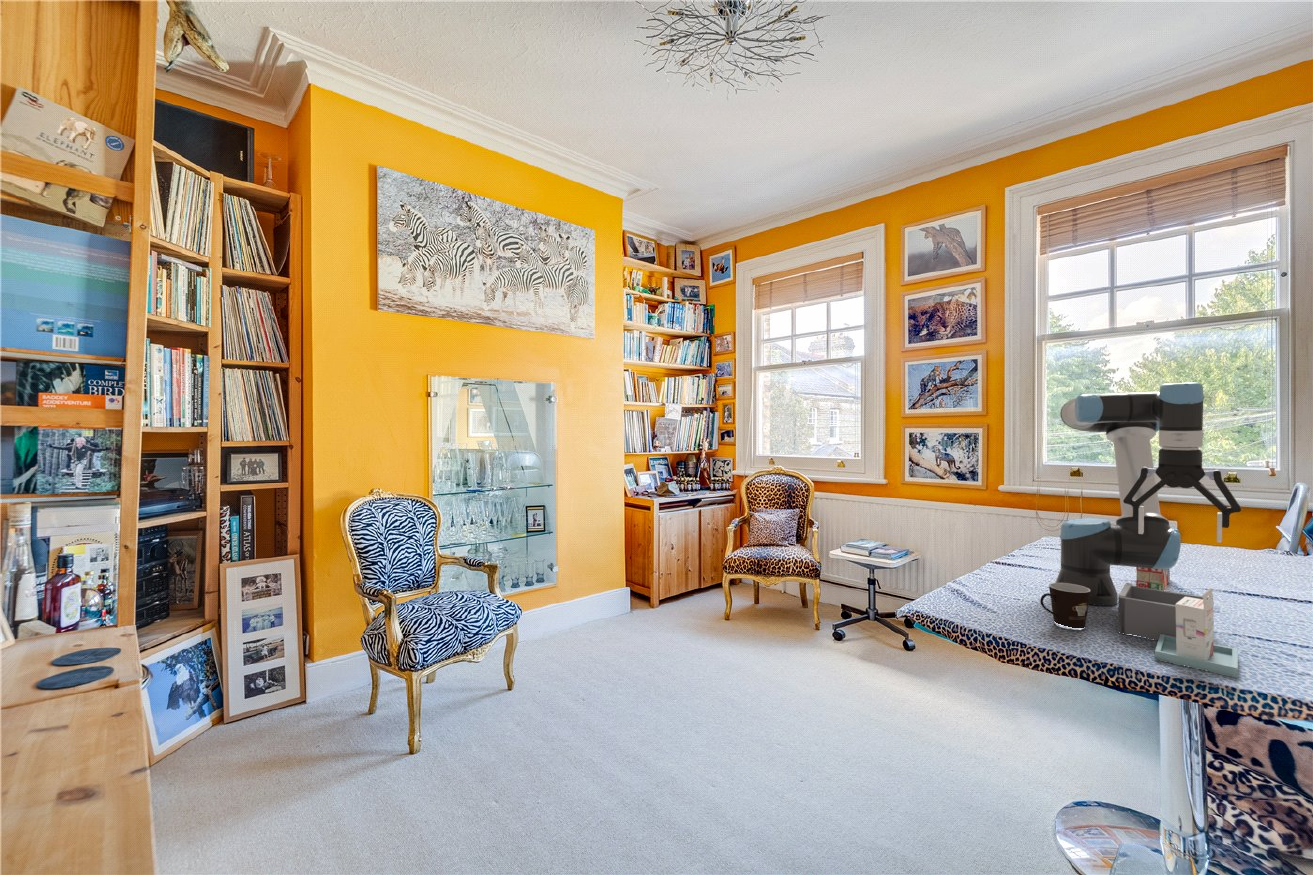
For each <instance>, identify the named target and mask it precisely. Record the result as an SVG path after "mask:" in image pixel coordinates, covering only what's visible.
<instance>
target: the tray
mask: <svg viewBox="0 0 1313 875" xmlns="http://www.w3.org/2000/svg"><path fill="white" fill-rule="evenodd" d="M1238 652H1239V650H1238V648H1235V647H1230V646H1225V645H1220V644H1215V643H1214V645H1213V654H1212V655H1211V656H1210V658H1209V659H1208V660H1207V661H1206V660H1201V659H1197V658H1192V657H1187V656H1182V655H1177V654H1176V637H1174V636H1168V635H1163V634H1161V635H1160V638H1159V640H1158V641H1157V644H1156V647H1155V650H1154V660H1155V659H1156V660H1155V661H1157V660H1160V661H1159V662H1162V661H1164V663H1166V662H1169V663H1168V664H1171V663H1173V664H1172V665H1176V664H1178V665H1177V666H1180V665H1185V666H1189V667H1193V668H1192V669H1194V668H1198V669H1197V670H1199V669H1203V670H1207V671H1206V672H1208V671H1211V672H1210V673H1212V672H1215V673H1214V674H1217V673H1218V675H1222V676H1228V677H1230V678H1231V677H1232V678H1235V679H1237V678H1239V675H1238V673H1239V671H1238V670H1239V661H1238V659H1239V658H1238V656H1239V655H1238V654H1239V653H1238ZM1185 666H1184V667H1185ZM1189 667H1188V668H1189ZM1203 670H1202V671H1203Z"/></svg>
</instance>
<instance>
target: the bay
mask: <svg viewBox="0 0 1313 875" xmlns="http://www.w3.org/2000/svg"><path fill="white" fill-rule="evenodd" d="M1184 597H1191V598H1197V599H1203V597H1202V595H1196V594H1190V593H1183V592H1182V593H1181V592H1176V591H1169V590H1165V591H1164V590H1157V589H1150V588H1144V587H1137V586H1136V585H1133V583H1131V582H1126V583H1125V584H1124V586H1123V587H1122V588H1121V590H1120V592H1119V593H1118V603H1117V604H1118V622H1117V623H1118V626H1117V628H1118V632H1120V633H1124V634H1132V635H1137V636H1141V637H1146V638H1149V639H1154V640H1159V638H1160V635H1161V634H1163V635H1168V636H1174V637H1176V607H1175V604H1176V603H1177V602H1179V601H1180V600H1181V599H1183V598H1184ZM1208 599H1209V596H1208V597H1207V600H1208ZM1124 634H1123V635H1124ZM1149 639H1148V640H1149ZM1154 640H1153V641H1154Z"/></svg>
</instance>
